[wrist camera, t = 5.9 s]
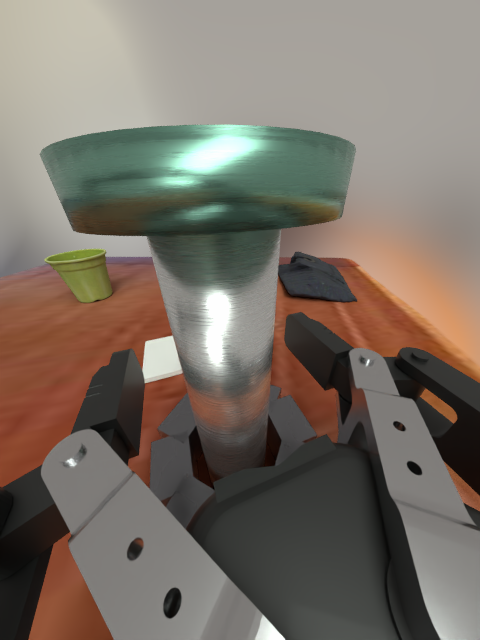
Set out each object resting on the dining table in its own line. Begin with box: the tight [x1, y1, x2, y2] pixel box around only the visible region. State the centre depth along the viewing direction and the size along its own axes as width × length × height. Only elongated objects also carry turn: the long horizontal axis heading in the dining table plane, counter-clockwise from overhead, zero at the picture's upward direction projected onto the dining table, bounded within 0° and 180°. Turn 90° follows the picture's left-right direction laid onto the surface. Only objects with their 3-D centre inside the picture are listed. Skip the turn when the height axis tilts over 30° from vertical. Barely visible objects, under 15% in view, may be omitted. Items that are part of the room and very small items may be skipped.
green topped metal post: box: [40, 125, 356, 486], centre depth 10 cm, size 7×7×17 cm
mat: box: [143, 336, 182, 383], centre depth 26 cm, size 14×7×1 cm, turn 109°
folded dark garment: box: [278, 252, 357, 302], centre depth 44 cm, size 15×22×5 cm
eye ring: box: [150, 385, 317, 529], centre depth 13 cm, size 10×10×4 cm
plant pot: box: [44, 249, 112, 303], centre depth 39 cm, size 9×9×9 cm
